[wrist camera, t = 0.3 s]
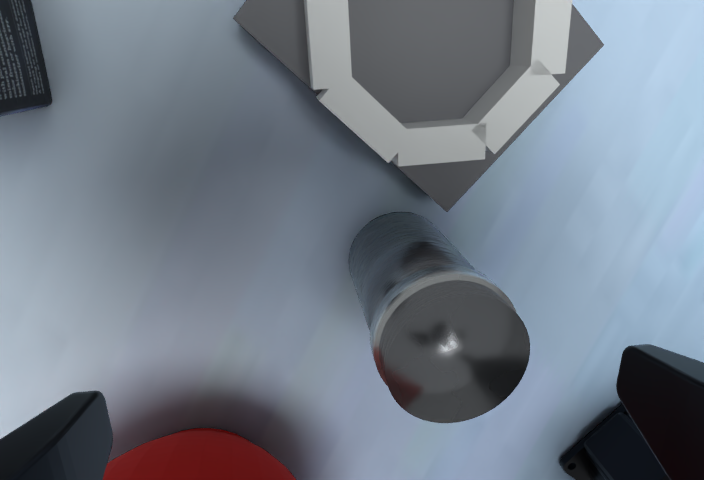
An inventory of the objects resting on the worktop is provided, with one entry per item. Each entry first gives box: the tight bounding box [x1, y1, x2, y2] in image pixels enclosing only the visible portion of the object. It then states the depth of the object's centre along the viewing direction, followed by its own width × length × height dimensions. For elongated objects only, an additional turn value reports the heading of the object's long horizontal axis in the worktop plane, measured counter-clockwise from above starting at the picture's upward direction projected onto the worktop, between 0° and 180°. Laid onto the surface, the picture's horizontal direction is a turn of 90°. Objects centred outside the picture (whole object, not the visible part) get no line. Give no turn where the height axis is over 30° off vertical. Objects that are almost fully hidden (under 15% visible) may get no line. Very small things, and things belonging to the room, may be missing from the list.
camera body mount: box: [233, 0, 604, 212], centre depth 16 cm, size 10×8×4 cm
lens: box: [349, 212, 530, 423], centre depth 18 cm, size 5×5×8 cm
